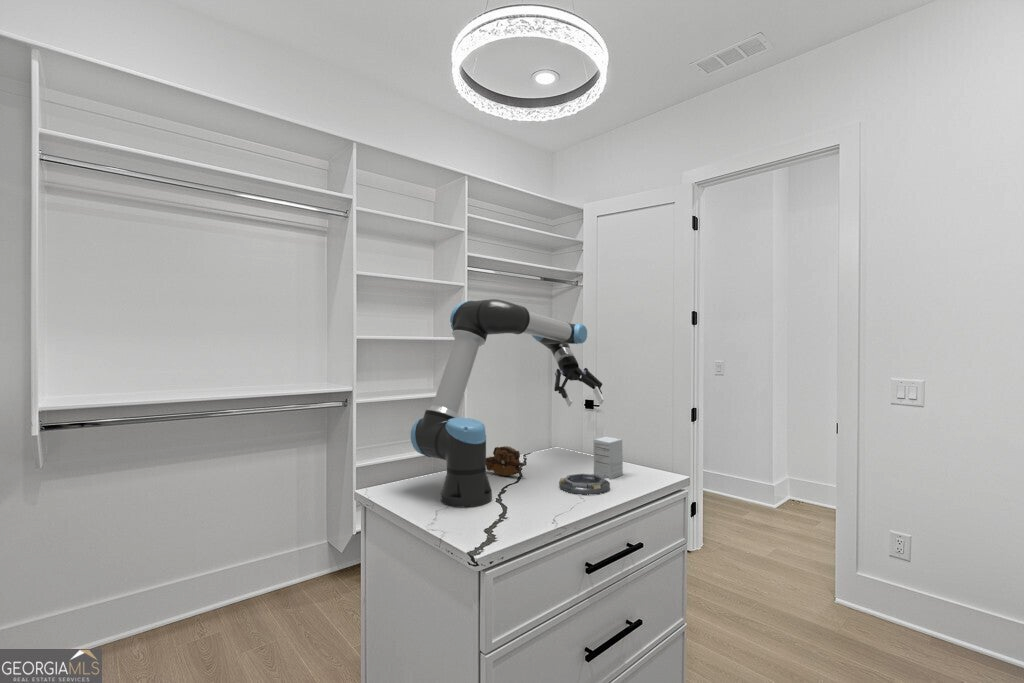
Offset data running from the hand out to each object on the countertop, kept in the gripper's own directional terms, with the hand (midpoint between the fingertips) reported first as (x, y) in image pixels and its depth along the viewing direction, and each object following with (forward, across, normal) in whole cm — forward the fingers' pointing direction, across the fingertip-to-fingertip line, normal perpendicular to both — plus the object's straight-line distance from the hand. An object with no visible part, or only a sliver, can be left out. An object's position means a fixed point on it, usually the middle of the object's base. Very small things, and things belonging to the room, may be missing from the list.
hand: (586, 403), depth 187 cm
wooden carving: (+16, +33, -17) cm, 41 cm away
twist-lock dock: (+33, +15, 0) cm, 36 cm away
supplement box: (+27, 0, -7) cm, 28 cm away
